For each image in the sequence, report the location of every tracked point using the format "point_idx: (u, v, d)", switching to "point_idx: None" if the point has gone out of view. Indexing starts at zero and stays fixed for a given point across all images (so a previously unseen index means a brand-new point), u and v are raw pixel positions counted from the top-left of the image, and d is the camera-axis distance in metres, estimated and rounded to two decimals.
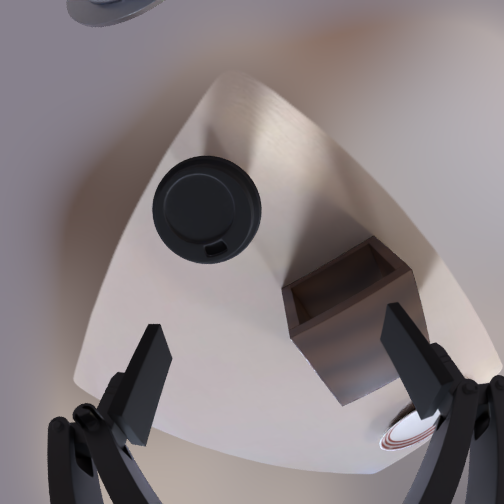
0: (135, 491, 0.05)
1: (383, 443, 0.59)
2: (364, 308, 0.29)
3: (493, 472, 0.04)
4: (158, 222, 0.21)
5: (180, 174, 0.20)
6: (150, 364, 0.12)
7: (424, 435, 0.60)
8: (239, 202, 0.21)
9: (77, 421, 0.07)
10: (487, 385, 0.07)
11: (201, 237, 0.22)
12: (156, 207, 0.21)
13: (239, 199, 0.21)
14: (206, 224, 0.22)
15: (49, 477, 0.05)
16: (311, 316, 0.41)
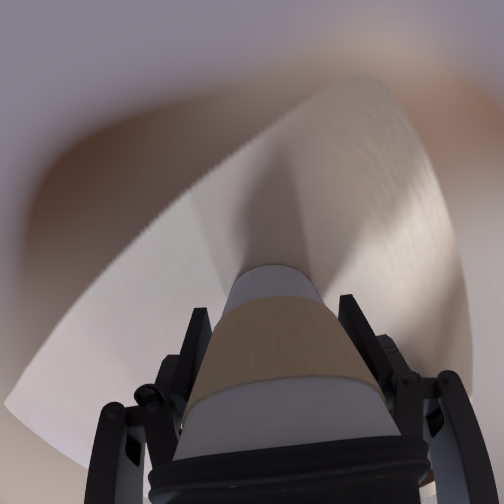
0: None
1: None
2: None
3: (460, 469, 0.04)
4: None
5: None
6: (201, 344, 0.14)
7: None
8: None
9: (137, 400, 0.09)
10: (434, 382, 0.09)
11: None
12: None
13: None
14: None
15: (91, 463, 0.06)
16: None
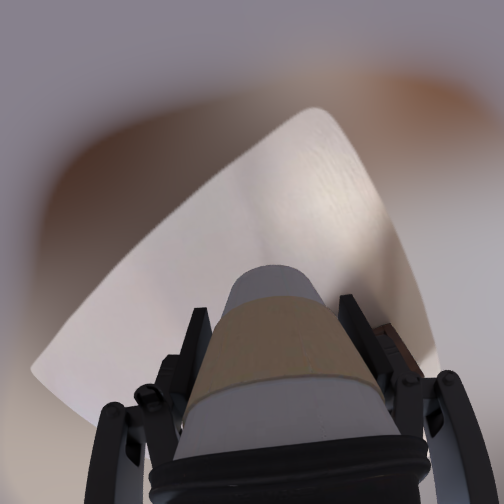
0: None
1: None
2: None
3: (459, 470, 0.04)
4: None
5: None
6: (201, 344, 0.14)
7: None
8: None
9: (138, 400, 0.09)
10: (434, 382, 0.09)
11: None
12: None
13: None
14: None
15: (91, 463, 0.06)
16: None
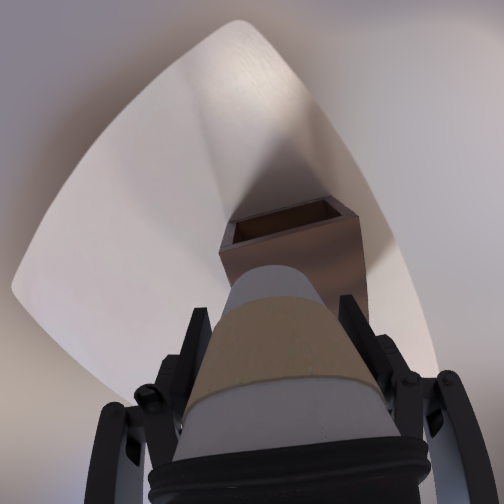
0: None
1: None
2: (301, 242, 0.30)
3: (459, 469, 0.04)
4: None
5: None
6: (202, 345, 0.14)
7: None
8: None
9: (138, 400, 0.09)
10: (434, 382, 0.09)
11: None
12: None
13: None
14: None
15: (91, 463, 0.06)
16: None
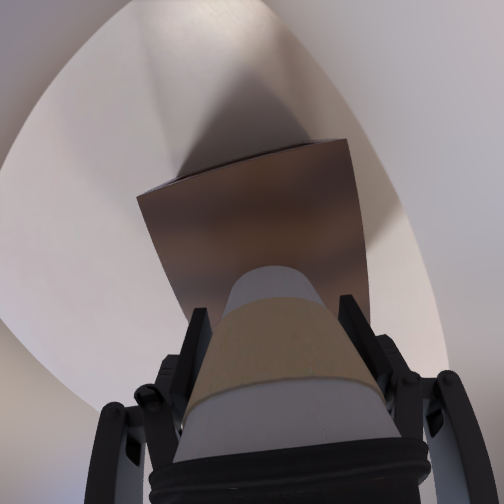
0: None
1: None
2: (257, 178, 0.19)
3: (459, 469, 0.04)
4: None
5: None
6: (202, 344, 0.14)
7: None
8: None
9: (138, 400, 0.09)
10: (434, 382, 0.09)
11: None
12: None
13: None
14: None
15: (91, 463, 0.06)
16: None
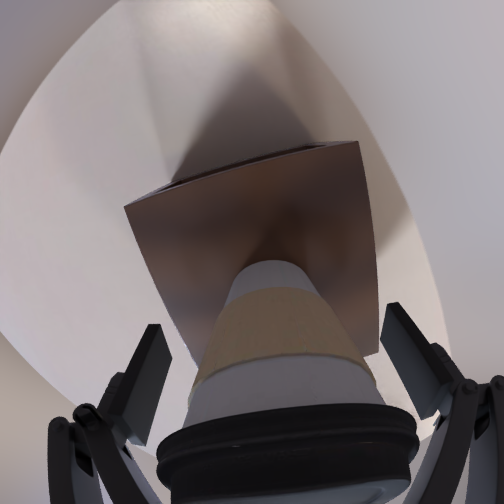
0: (135, 491, 0.05)
1: None
2: (258, 185, 0.16)
3: (493, 472, 0.04)
4: None
5: (293, 493, 0.04)
6: (150, 364, 0.12)
7: None
8: (384, 498, 0.05)
9: (77, 421, 0.07)
10: (487, 385, 0.07)
11: None
12: (181, 503, 0.05)
13: (389, 497, 0.05)
14: None
15: (49, 477, 0.05)
16: None
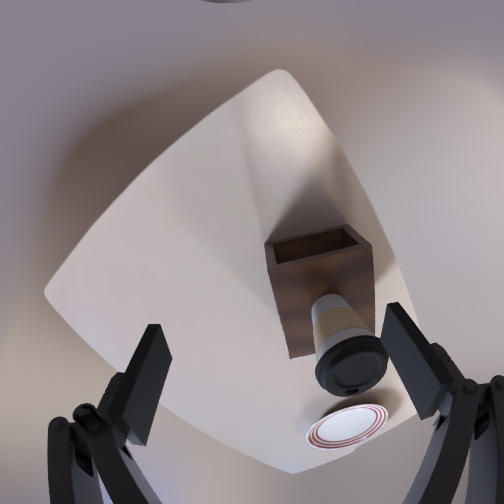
0: (135, 491, 0.05)
1: (310, 436, 0.71)
2: (329, 264, 0.39)
3: (493, 472, 0.04)
4: (329, 374, 0.27)
5: (361, 353, 0.26)
6: (150, 364, 0.12)
7: (349, 442, 0.74)
8: (381, 371, 0.28)
9: (77, 421, 0.07)
10: (487, 385, 0.07)
11: (348, 384, 0.28)
12: (334, 367, 0.27)
13: (382, 370, 0.28)
14: (356, 379, 0.28)
15: (49, 477, 0.05)
16: None
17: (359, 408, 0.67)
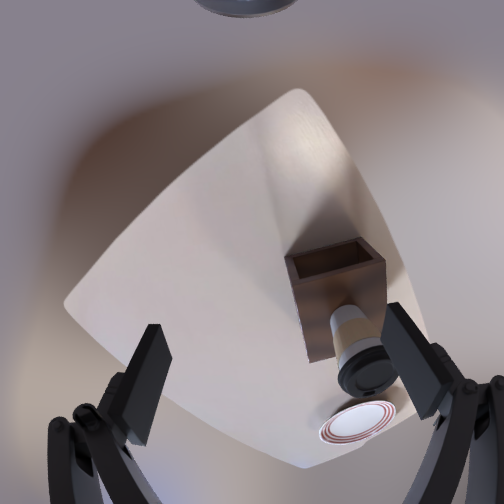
0: (135, 491, 0.05)
1: (322, 432, 0.74)
2: (347, 278, 0.42)
3: (493, 472, 0.04)
4: (351, 380, 0.30)
5: (379, 361, 0.29)
6: (150, 364, 0.12)
7: (359, 437, 0.77)
8: (394, 375, 0.31)
9: (77, 421, 0.07)
10: (487, 385, 0.07)
11: (366, 387, 0.31)
12: (355, 373, 0.30)
13: (395, 374, 0.30)
14: (373, 382, 0.31)
15: (49, 477, 0.05)
16: None
17: (369, 404, 0.71)
